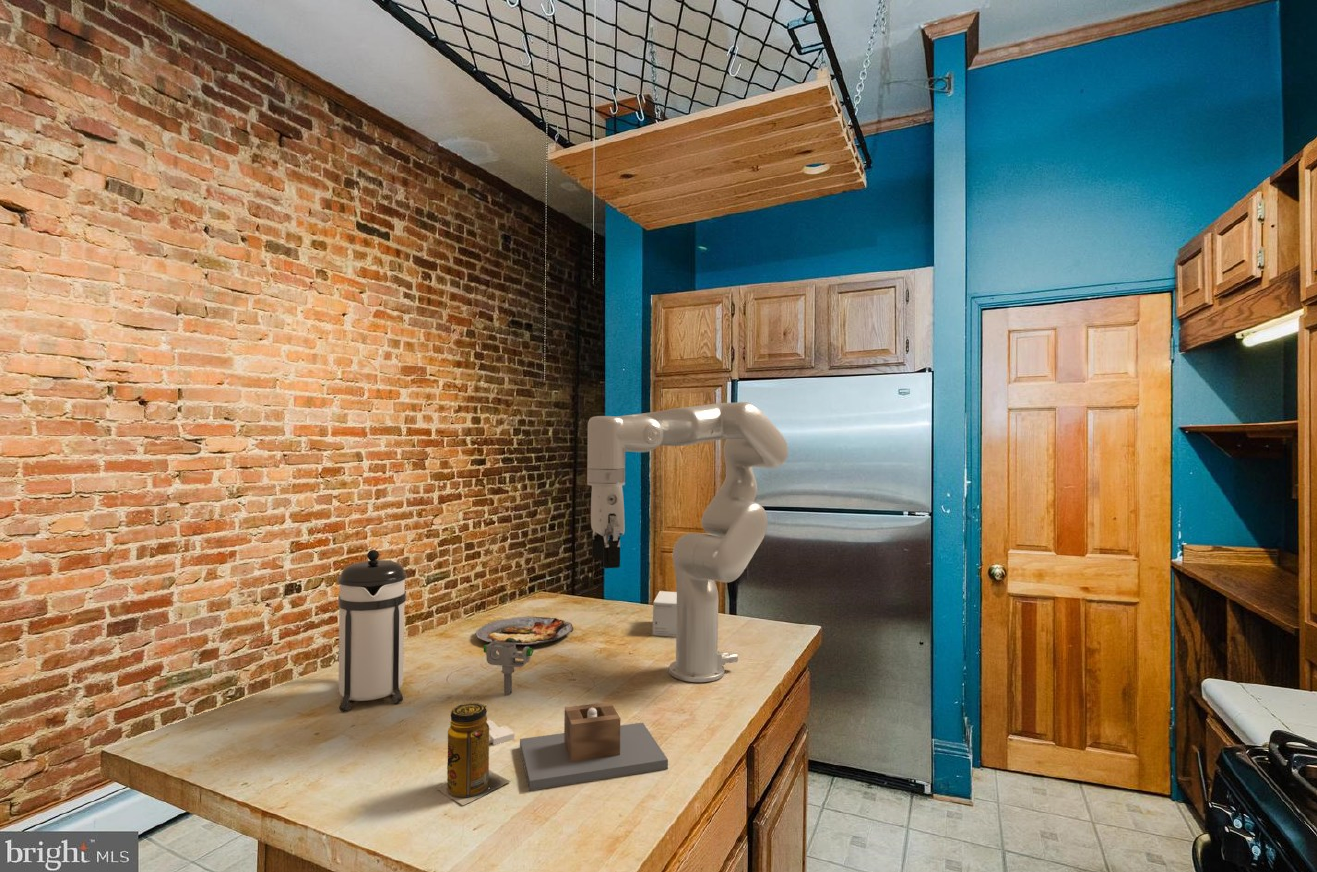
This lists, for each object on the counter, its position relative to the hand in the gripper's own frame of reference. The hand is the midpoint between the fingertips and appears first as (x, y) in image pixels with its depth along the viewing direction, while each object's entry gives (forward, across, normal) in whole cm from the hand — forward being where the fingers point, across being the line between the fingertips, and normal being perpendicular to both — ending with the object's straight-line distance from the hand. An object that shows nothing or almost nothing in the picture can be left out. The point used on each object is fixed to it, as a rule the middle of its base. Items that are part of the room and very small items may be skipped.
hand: (605, 562), depth 129 cm
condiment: (+28, -24, +26) cm, 45 cm away
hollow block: (+26, -21, +7) cm, 34 cm away
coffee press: (+28, +17, +45) cm, 56 cm away
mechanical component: (+28, +10, +18) cm, 35 cm away
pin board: (+28, -21, +7) cm, 36 cm away
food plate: (+29, +48, +10) cm, 57 cm away
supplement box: (+29, +41, -33) cm, 60 cm away
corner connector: (+29, -8, +24) cm, 38 cm away
